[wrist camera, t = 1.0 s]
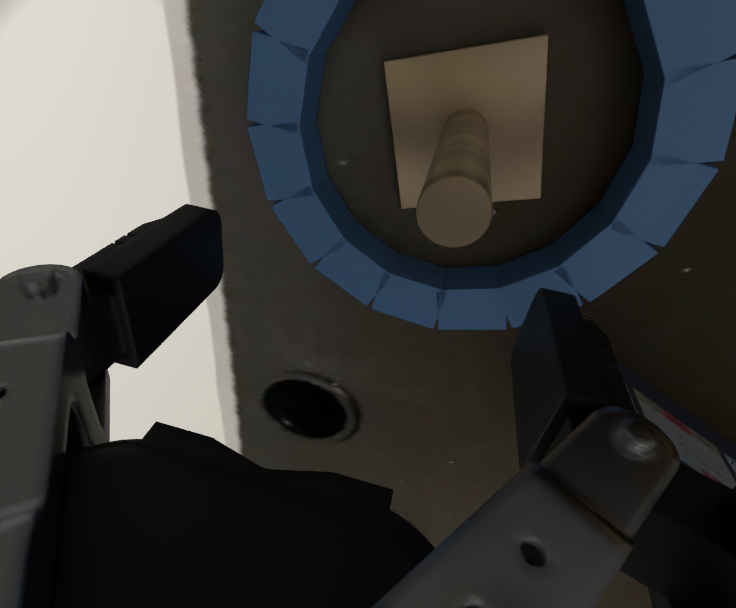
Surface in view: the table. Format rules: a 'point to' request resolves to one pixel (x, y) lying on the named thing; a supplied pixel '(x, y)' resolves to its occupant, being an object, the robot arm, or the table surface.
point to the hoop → (539, 268)
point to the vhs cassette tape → (684, 431)
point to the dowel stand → (468, 133)
